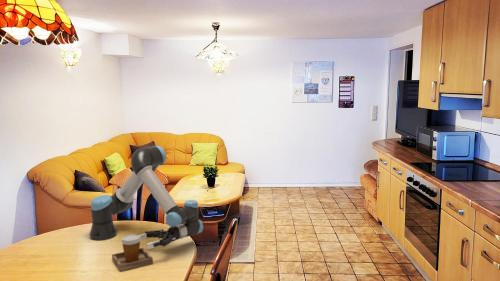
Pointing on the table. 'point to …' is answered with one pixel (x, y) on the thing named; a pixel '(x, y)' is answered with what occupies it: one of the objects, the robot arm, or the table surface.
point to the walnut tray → (124, 266)
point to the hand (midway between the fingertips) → (140, 242)
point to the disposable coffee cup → (131, 247)
